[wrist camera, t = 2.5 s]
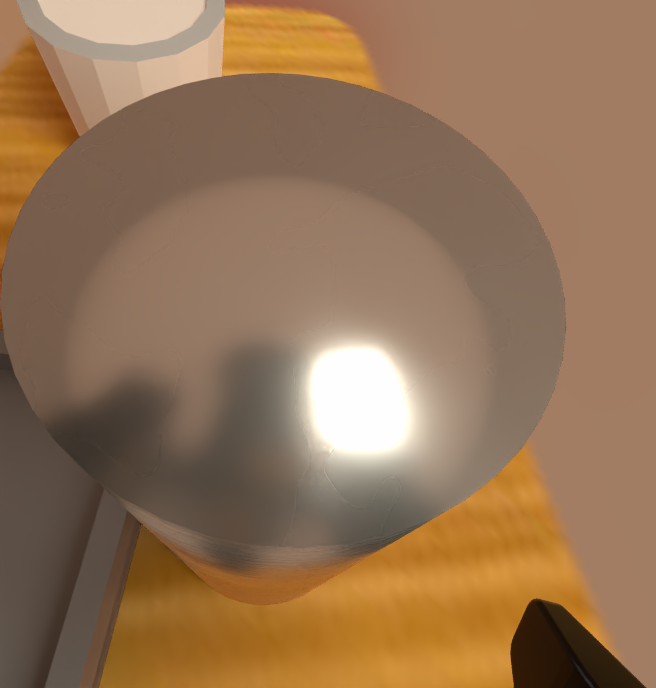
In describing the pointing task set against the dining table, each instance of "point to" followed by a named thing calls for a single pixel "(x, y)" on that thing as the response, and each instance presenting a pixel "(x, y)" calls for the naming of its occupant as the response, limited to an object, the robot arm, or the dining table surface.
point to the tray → (54, 554)
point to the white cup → (123, 49)
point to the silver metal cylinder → (281, 322)
